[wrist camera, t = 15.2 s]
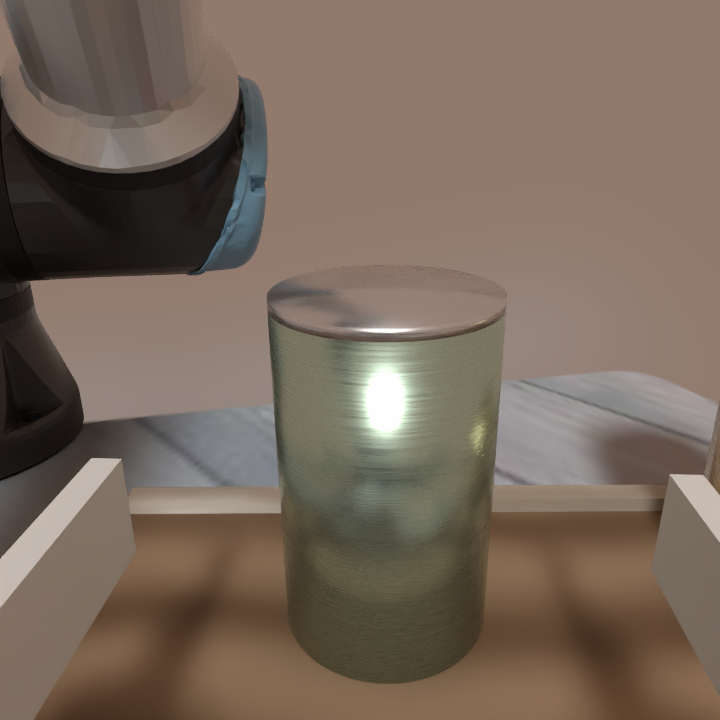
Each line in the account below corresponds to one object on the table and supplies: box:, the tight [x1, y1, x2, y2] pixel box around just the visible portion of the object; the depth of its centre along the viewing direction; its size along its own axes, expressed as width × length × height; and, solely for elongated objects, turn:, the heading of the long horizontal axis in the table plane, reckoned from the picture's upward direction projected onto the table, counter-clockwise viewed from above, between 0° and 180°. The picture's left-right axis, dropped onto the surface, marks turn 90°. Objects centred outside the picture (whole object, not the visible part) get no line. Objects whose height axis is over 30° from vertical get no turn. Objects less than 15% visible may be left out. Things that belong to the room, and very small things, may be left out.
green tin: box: [267, 265, 507, 684], centre depth 23 cm, size 8×8×12 cm
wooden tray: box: [34, 485, 720, 720], centre depth 25 cm, size 16×32×3 cm, turn 90°
